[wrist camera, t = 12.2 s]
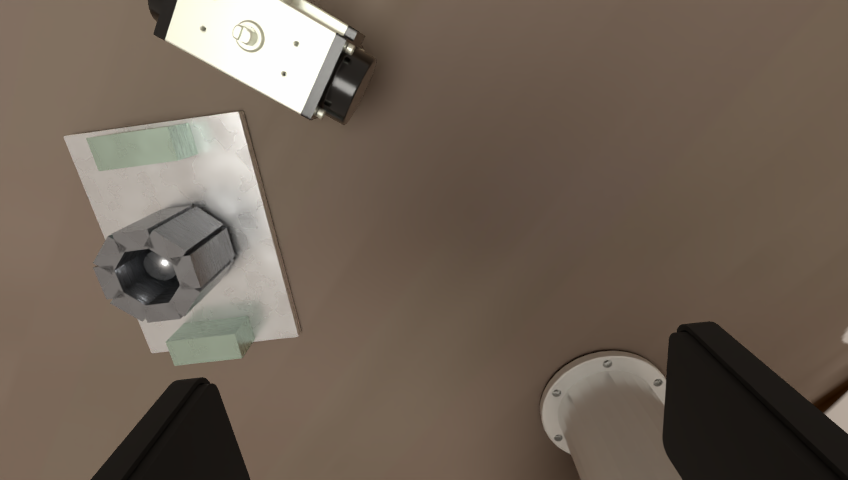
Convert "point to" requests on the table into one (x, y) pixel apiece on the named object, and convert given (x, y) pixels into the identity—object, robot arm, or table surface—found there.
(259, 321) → the seat
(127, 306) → the hub
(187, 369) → the table surface
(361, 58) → the pneumatic valve
